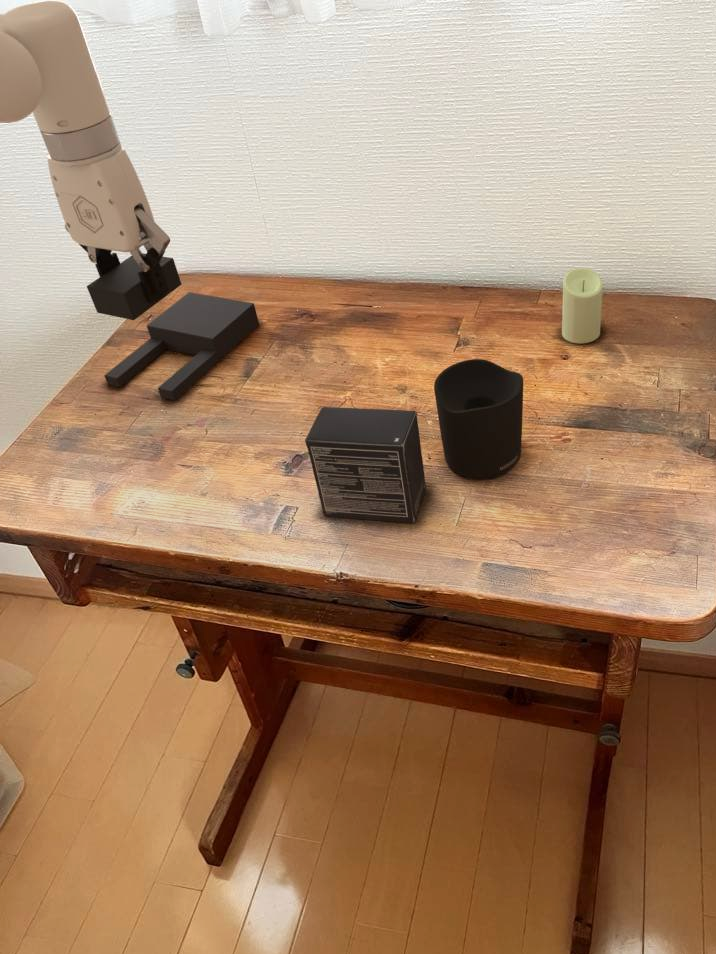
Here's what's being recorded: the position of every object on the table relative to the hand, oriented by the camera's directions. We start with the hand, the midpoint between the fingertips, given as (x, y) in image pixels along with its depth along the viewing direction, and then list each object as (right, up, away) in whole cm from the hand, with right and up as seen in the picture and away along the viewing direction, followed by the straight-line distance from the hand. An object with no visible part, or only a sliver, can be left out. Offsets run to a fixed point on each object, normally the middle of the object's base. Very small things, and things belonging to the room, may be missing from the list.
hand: (137, 291), depth 101 cm
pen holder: (+42, -21, -6) cm, 47 cm away
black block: (0, -1, +1) cm, 1 cm away
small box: (+29, -26, -10) cm, 41 cm away
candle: (+56, -3, +9) cm, 57 cm away
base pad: (+1, -4, +17) cm, 17 cm away
